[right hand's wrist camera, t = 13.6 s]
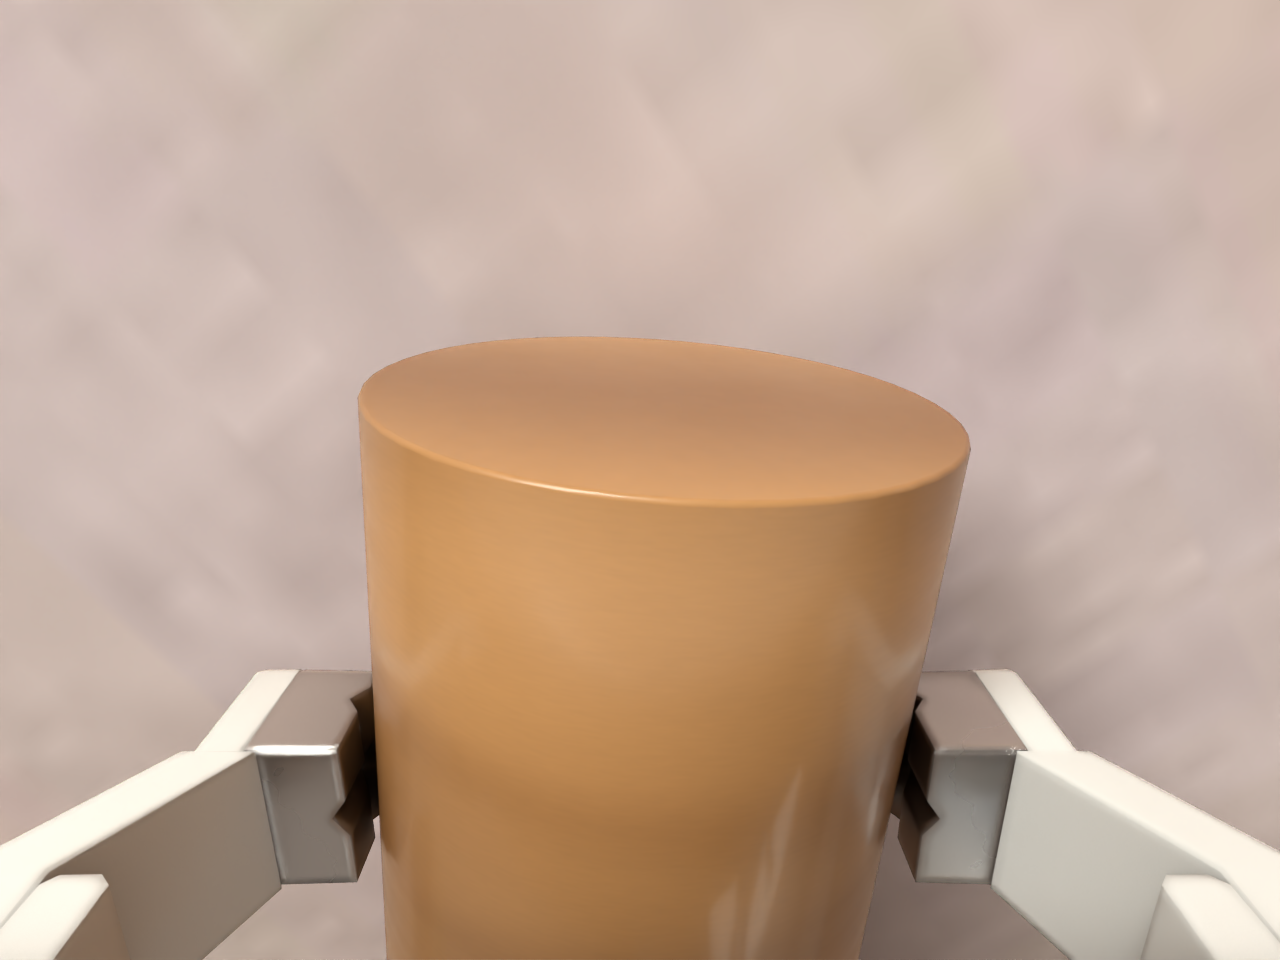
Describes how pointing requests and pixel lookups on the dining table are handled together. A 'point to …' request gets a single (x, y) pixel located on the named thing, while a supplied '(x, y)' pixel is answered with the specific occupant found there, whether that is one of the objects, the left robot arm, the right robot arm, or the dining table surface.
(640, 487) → the rod
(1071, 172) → the dining table surface
